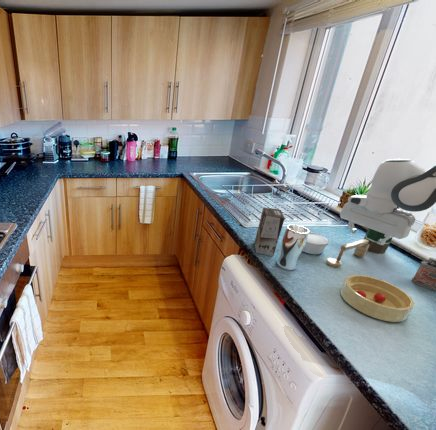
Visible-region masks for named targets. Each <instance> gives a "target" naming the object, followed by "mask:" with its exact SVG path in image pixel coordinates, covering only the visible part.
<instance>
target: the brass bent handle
mask: <svg viewBox="0 0 436 430" xmlns="http://www.w3.org/2000/svg"><path fill="white" fill-rule="evenodd" d="M368 242H369V240H366V239H364V238H363V239H359V240H356V241H353V242H348V243H345V244H343V245H341V246H340V250H339V252H338V253H339V254H338V256H337V257H336V258H334V257H328V258H326V261H325V264H326V265H328V266H330V267H332V268H335V269H336V268H341V266H342V261H341V260H342V257H343V254H344V253H345V252H346V251H350V250H352V249H354V251H353V255H354V256H355V257H356V256H357V257H358V258H361V259H363V258H365V257H366V254H367V252H368V248H369V246H370V245H369V244H368Z"/></svg>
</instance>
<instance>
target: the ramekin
mask: <svg viewBox="0 0 436 430" xmlns="http://www.w3.org/2000/svg"><path fill="white" fill-rule="evenodd" d="M329 242H330V241H329V240H328V238H326V237H325V236H323V235H321V234H319V233H317V232H312V231H309V234H308V238H307V242H306V244H305V247H304V249H303V250H302V252H303V253H305V254H309V255H320V254H322V253H323V252H324V250H325V248H326V247H327V246H328V245H329Z"/></svg>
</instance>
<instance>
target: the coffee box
mask: <svg viewBox="0 0 436 430" xmlns="http://www.w3.org/2000/svg"><path fill="white" fill-rule="evenodd" d="M285 219H286V217H285V216H284V213H283V211H282V209H279V208H272V207H271V208H270V207H263V208H262V211H261V216H260V219H259V222H258V227H257V232H256V235H255V239H254V247H255V248H254V249H255V253H256V254H259V255H264V256H270V257H274V255H275V252H276V249H277V245H278V241H279V238H280V236H281V232H282V229H283V225H284V222H285Z"/></svg>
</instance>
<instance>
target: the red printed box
mask: <svg viewBox="0 0 436 430" xmlns="http://www.w3.org/2000/svg"><path fill="white" fill-rule="evenodd" d="M410 281H411V282H412V283H414V284H416V285H418V286H420V287H424V288H427V289H429V290H433V291H436V258H434V257H429V258H428V260H427V261H424V260H422V261H421V262H420V265H419V266H418V268H417V270H416V272H415V274H414V276H413V277H412V278H411V280H410Z"/></svg>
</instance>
